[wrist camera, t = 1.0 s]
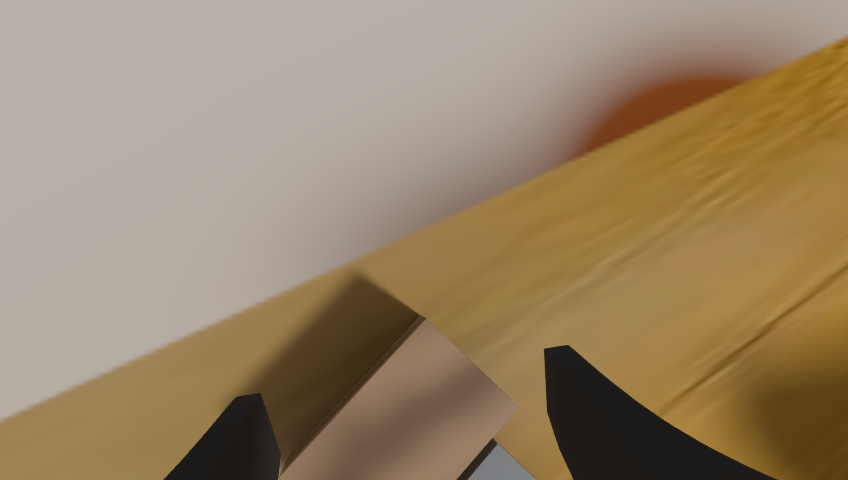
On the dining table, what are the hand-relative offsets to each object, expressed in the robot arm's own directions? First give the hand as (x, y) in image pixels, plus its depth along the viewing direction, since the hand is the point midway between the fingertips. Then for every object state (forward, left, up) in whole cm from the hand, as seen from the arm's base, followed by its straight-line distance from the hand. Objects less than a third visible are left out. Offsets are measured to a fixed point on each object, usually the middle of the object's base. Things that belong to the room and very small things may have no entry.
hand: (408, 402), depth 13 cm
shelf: (-5, +4, -21) cm, 22 cm away
